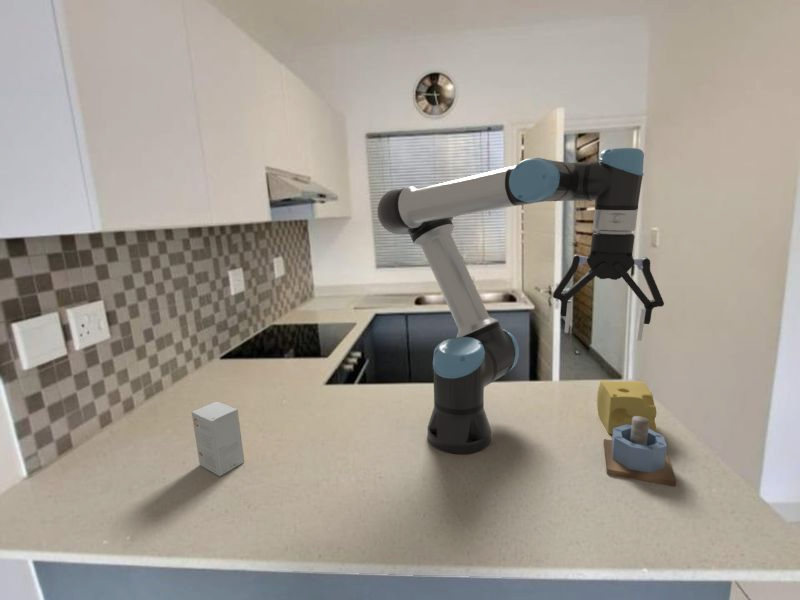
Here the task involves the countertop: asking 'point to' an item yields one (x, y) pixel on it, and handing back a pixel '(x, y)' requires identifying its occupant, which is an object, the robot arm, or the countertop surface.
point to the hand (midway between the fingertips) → (601, 334)
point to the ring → (638, 450)
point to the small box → (218, 437)
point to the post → (639, 437)
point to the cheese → (624, 404)
